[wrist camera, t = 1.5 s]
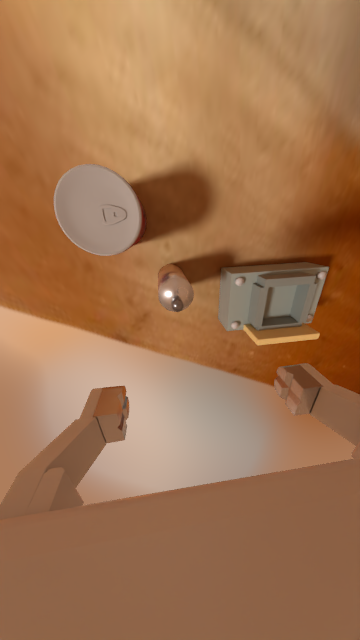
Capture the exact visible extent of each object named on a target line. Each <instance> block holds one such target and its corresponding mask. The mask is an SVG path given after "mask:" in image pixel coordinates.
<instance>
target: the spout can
mask: <svg viewBox="0 0 360 640" xmlns="http://www.w3.org/2000/svg"><path fill="white" fill-rule="evenodd" d="M158 291H159V300H160V303H161V304H162V306H163V307H164V308H166V309H167V310H170V311H174V312H179V311H182V310H184V309H186V308H187V307H188V306H189V305H190V304H191V302H192V300H193V296H194V293H193V288H192V286H191V285H190V283H189V281H188V280H187V278H186V277H185V275H184V273H183V272H182V270H181V269H180V268H179V267H178V266H177V265H174V264H167V265H165V266H163V267H162V268H161V269H160V271H159V273H158Z"/></svg>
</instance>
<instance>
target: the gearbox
mask: <svg viewBox="0 0 360 640" xmlns="http://www.w3.org/2000/svg"><path fill="white" fill-rule="evenodd" d="M328 269H329V267H327V266H323V265H318V264H313V263H309V262H298V263H284V264H269V265H254V266H240V267H225V268H221V281H220V298H219V316H218V319H219V320H220V322H221V323H222V325H223V326H224V327H225V329H226V330H227V331H232V330H242V329H243V330H244V331H245V332H246V333H247V334H248V335H249V336H250V338H251V339H252V340H253V341H254V342H255V343H256V344H257V345H265V344H274V343H283V342H293V341H302V340H311V339H318V337H319V334H320V333H319V332H317V331H315V330H314V329H312V328H311V327H309V326H307V325H306V324H304V323H311V322H312V319H313V316H314V313H315V310H316V307H317V304H318V301H319V297H320V294H321V291H322V288H323V285H324V282H325V279H326V275H327V272H328Z"/></svg>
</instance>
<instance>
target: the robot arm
mask: <svg viewBox="0 0 360 640" xmlns="http://www.w3.org/2000/svg"><path fill="white" fill-rule="evenodd" d="M277 374H278V375H279V376H278V377H277V378H276V379H275V382H274V385H275V390H276V392H277V393H278V395H279V396H280V397H281V398H283V399H285V400H286V401H285V404H286V405H287V407H288V408H289V409H290V411H291V412H292V413H293V415H302V414H310V415H312V416H313V417H315V418H316V419H318V420H319V421H321V422H322V423H323V424H325V425H326V426H328V427H329V428H331V429H332V430H334V431H335V432H337V433H338V434H339V435H341V436H342V437H344V438H345V439H347V440H348V441H350V442H351V443H353V444H354V445H355V446H356V447H355V449H354V450H353V452H352V457H353V458H354V459H350V460H344V461H339V462H333V463H327V464H322V465H315V466H309V467H303V468H298V469H292V470H286V471H280V472H274V473H269V474H262V475H257V476H251V477H245V478H239V479H234V480H228V481H222V482H216V483H210V484H204V485H199V486H193V487H187V488H181V489H176V490H169V491H164V492H158V493H152V494H146V495H141V496H135V497H129V498H123V499H117V500H112V501H106V502H100V503H94V504H88V505H83V500H82V498H81V496H80V495H79V493H78V492H77V490H76V487H77V485H78V484H79V483H80V481H81V480H82V478H83V477H84V475H85V474H86V472H87V471H88V470H89V468H90V467H91V465H92V464H93V462H94V461H95V460H96V458H97V457H98V455H99V454H100V452H101V451H102V450H103V448H104V446H105V445H106V443H110V442H116V441H122V440H125V435H126V429H127V425H126V420H127V418H128V415H129V400H128V397H126V388H125V386H116V387H106V388H97V389H93V390H92V391H91V392H90V395H89V398H88V400H87V402H86V405H85V407H84V409H83V412H82V414H81V417H80V419H78V420H75V421H74V422H73V423H72V424H71V425H70V426H69V427H68V428H67V429H65V430H64V431H63V432H62V433H61V434H60V435H59V436H58V437H57V438H56V439H54V440H53V441H52V442H51V443H50V444H49V445H48V446H47V447H46V448H45V449H44V450H43V451H41V452H40V453H39V455H37V456H36V457H35V458H34V459H33V460H32V461H31V462H30V463H29V464H27V465H26V466H25V467H24V468H23V469H22V470H21V471H20V472H19V473H18V475H17V477H16V478H15V480H14V482H13V484H12V485H11V487H10V489H9V491H8V492H7V494H6V496H5V497H4V499H3V501H2V503H1V504H0V640H360V395H359V394H357V393H354V392H352V391H350V390H347V389H345V388H343V387H340V386H338V385H333V384H332V383H331V382H330V381H328V380H327V379H326V378H325V377H324V376H323V375H321V374H320V373H319V372H318V371H317V370H316V369H314V368H313V367H312V366H311V365H309V364H307V363H305V364H298V365H290V366H283V367H279V368H278V370H277Z"/></svg>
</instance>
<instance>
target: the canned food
mask: <svg viewBox="0 0 360 640" xmlns="http://www.w3.org/2000/svg"><path fill="white" fill-rule="evenodd" d="M54 209H55V214H56V218H57V220H58V222H59V225H60V227H61V228H62V230H63V231H64V233H65V234H66V235H67V237H68V238H69V239H70V240H71V241H72V242H73V243H74V244H76V245H77V246H78V247H80V248H81V249H83V250H85V251H87V252H90V253H92V254H96V255H102V256H110V255H116V254H119V253H122V252H124V251H126V250H127V249H129V248H130V247H132V246H133V245H135V244H136V243H137V242H138V241H139V240H140V239H141V238H142V237H143V235H144V233H145V230H146V224H147V222H146V214H145V211H144V208H143V206H142V204H141V202H140V200H139V198H138V197H137V195H136V193H135V192H134V190H133V189H132V187H131V186H130V185H129V184H128V183H127V181H126V180H125V179H124V178H122V177H121V176H120V175H119V174H117V173H116V172H114V171H112V170H110V169H108V168H107V167H103V166H100V165H95V164H85V165H79V166H76V167H74V168H72V169H70V170H69V171H68V172H66V173H65V174H64V175H63V176H62V178H61V179H60V180H59V182H58V184H57V187H56V189H55V194H54Z"/></svg>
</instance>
